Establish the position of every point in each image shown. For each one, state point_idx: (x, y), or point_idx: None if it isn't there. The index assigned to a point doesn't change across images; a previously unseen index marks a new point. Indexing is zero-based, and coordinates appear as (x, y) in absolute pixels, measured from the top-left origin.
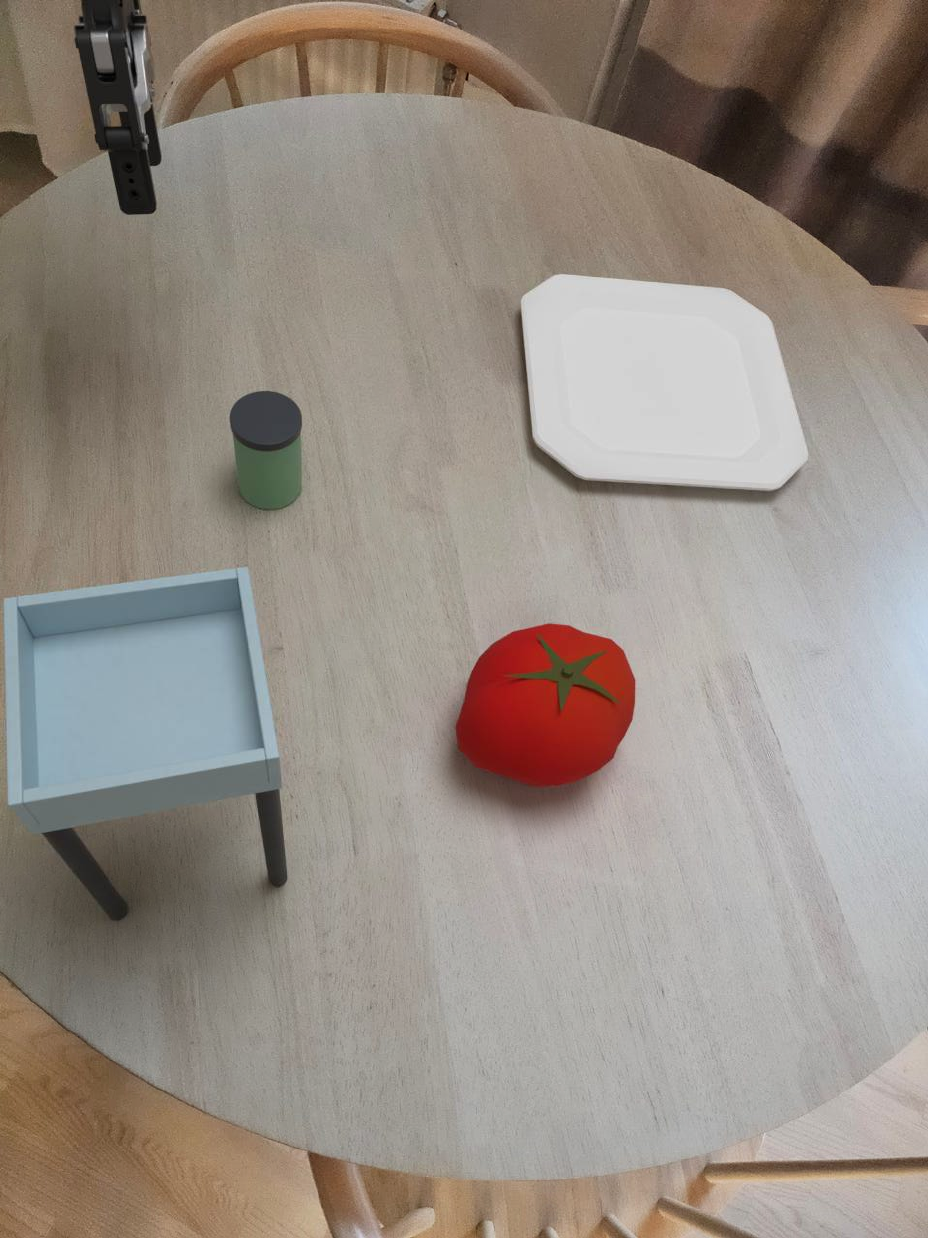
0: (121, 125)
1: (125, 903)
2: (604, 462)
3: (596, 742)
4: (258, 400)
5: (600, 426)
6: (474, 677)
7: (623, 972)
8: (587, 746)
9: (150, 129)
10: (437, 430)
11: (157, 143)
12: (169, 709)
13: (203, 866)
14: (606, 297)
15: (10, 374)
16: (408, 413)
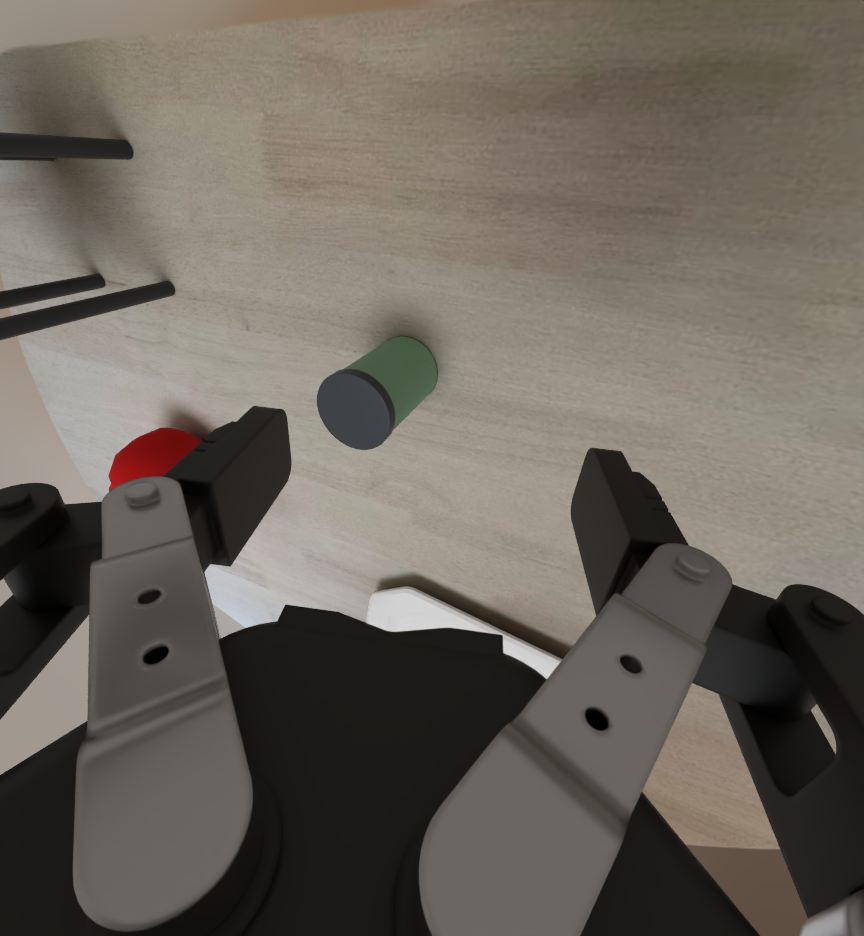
0: (614, 503)
1: (43, 160)
2: (380, 613)
3: None
4: (376, 413)
5: (421, 629)
6: (160, 464)
7: (110, 446)
8: None
9: (587, 558)
10: (451, 529)
11: (578, 542)
12: None
13: (92, 226)
14: None
15: None
16: (475, 518)
